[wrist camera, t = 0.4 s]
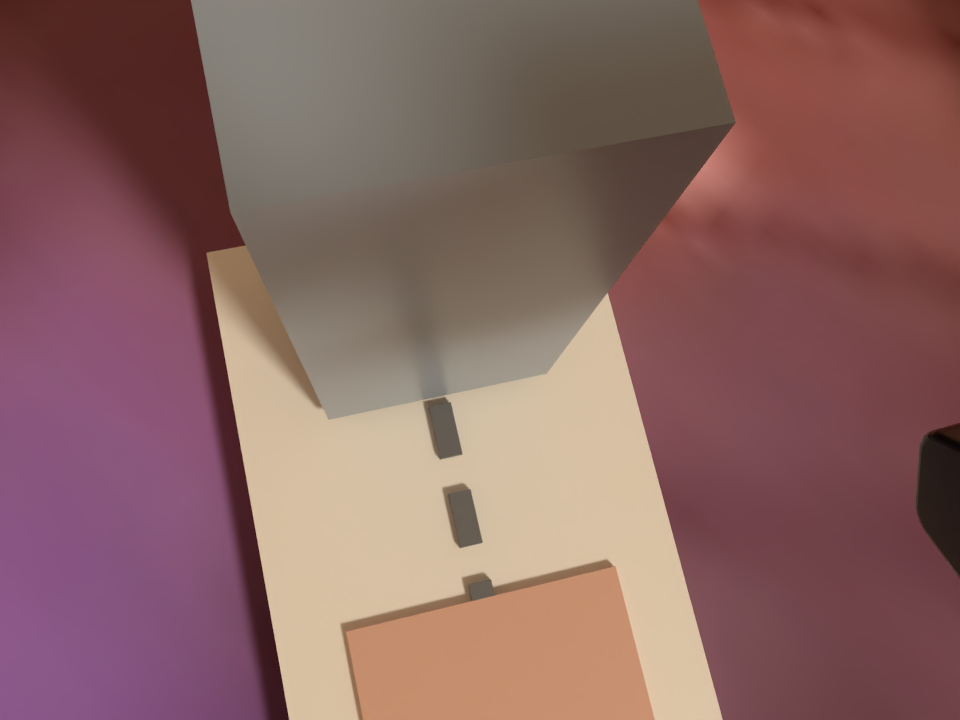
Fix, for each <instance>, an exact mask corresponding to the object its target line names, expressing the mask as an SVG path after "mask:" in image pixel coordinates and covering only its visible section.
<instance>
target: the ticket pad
mask: <svg viewBox="0 0 960 720" xmlns="http://www.w3.org/2000/svg"><path fill="white" fill-rule="evenodd" d="M206 254H207V259H208V265H209V271H210V276H211V282H212V288H213V293H214V299H215V304H216V310H217V316H218V321H219V327H220V333H221V338H222V344H223V350H224V355H225V361H226V366H227V372H228V378H229V383H230V389H231V395H232V400H233V406H234V411H235V417H236V423H237V428H238V434H239V440H240V445H241V451H242V457H243V462H244V468H245V473H246V479H247V485H248V490H249V496H250V502H251V507H252V513H253V518H254V524H255V530H256V535H257V541H258V547H259V552H260V558H261V563H262V569H263V575H264V580H265V586H266V592H267V597H268V603H269V609H270V614H271V620H272V625H273V631H274V637H275V642H276V648H277V654H278V659H279V665H280V670H281V676H282V682H283V687H284V693H285V699H286V704H287V710H288V716H289V720H722V716H721V712H720V708H719V705H718V701H717V697H716V694H715V690H714V686H713V683H712V679H711V675H710V671H709V668H708V664H707V660H706V657H705V653H704V649H703V645H702V642H701V638H700V634H699V631H698V627H697V623H696V619H695V616H694V612H693V608H692V605H691V601H690V597H689V593H688V590H687V586H686V582H685V579H684V575H683V571H682V567H681V564H680V560H679V556H678V553H677V549H676V545H675V541H674V538H673V534H672V530H671V527H670V523H669V519H668V515H667V512H666V508H665V504H664V501H663V497H662V493H661V489H660V486H659V482H658V478H657V475H656V471H655V467H654V463H653V460H652V456H651V452H650V449H649V445H648V441H647V437H646V434H645V430H644V426H643V423H642V419H641V415H640V411H639V408H638V404H637V400H636V397H635V393H634V389H633V386H632V382H631V378H630V374H629V371H628V367H627V363H626V360H625V356H624V352H623V348H622V345H621V341H620V337H619V334H618V330H617V326H616V322H615V319H614V315H613V311H612V308H611V304H610V300H609V296H608V293H607V294H606V296H605V297H604V298H603V300H602V301H601V302H600V304H599V305H598V306H597V308H596V309H595V310H594V312H593V313H592V314H591V315H590V317H589V318H588V319H587V321H586V322H585V323H584V325H583V326H582V327H581V329H580V330H579V331H578V333H577V334H576V335H575V337H574V338H573V339H572V341H571V342H570V343H569V345H568V346H567V347H566V349H565V350H564V351H563V353H562V354H561V355H560V357H559V358H558V359H557V361H556V362H555V363H554V365H553V366H552V367H551V369H550V370H549V371H548V373H547V374H543V375H538V376H534V377H529V378H524V379H519V380H515V381H510V382H505V383H500V384H496V385H491V386H486V387H482V388H477V389H472V390H467V391H463V392H458V393H453V394H449V395H444V396H439V397H434V398H430V399H425V400H420V401H415V402H411V403H406V404H401V405H397V406H392V407H387V408H382V409H378V410H373V411H368V412H364V413H359V414H354V415H349V416H345V417H340V418H335V419H330V420H328V418H327V416H326V414H325V411H324V409H323V407H322V405H321V403H320V401H319V399H318V397H317V395H316V392H315V390H314V388H313V386H312V384H311V382H310V380H309V378H308V376H307V373H306V371H305V369H304V367H303V365H302V363H301V361H300V359H299V357H298V355H297V352H296V350H295V348H294V346H293V344H292V342H291V340H290V338H289V336H288V333H287V331H286V329H285V327H284V325H283V323H282V321H281V319H280V317H279V314H278V312H277V310H276V308H275V306H274V304H273V302H272V300H271V298H270V295H269V293H268V291H267V289H266V287H265V285H264V283H263V281H262V279H261V277H260V274H259V272H258V270H257V268H256V266H255V264H254V262H253V260H252V258H251V255H250V253H249V251H248V249H247V247H246V245H245V246H240V247H235V248H229V249H224V250H218V251H213V252H207V253H206Z"/></svg>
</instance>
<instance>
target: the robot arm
mask: <svg viewBox="0 0 960 720" xmlns="http://www.w3.org/2000/svg"><path fill="white" fill-rule="evenodd" d="M916 510H917V515H918V518H919V521H920V523H921V525H922V527H923V529H924V530H925V532H926V534H927V535H928V536H929V538H930V539H931V540H932V542H933V543H934V544H935V546H936V547H937V548H938V550H939V551H940V552H941V554H942V555H943V556H944V558H945V559H946V561H947V562H948V563H949V565H950V566H951V567H952V569H953V570H954V571H955V573H956V574H957V575H958V577H959V578H960V423H958V424H954V425H951V426H947V427H944V428H940V429H937V430H933V431H931V432H929V433H928V434H926V435H925V436H924V438H923V440H922V441H921V444H920V450H919V464H918V478H917V492H916Z"/></svg>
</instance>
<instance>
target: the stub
mask: <svg viewBox="0 0 960 720" xmlns="http://www.w3.org/2000/svg"><path fill="white" fill-rule="evenodd" d="M191 3H192V9H193V14H194V19H195V25H196V30H197V36H198V41H199V46H200V52H201V57H202V63H203V68H204V73H205V79H206V84H207V90H208V95H209V100H210V106H211V111H212V117H213V122H214V127H215V133H216V138H217V144H218V149H219V155H220V160H221V165H222V171H223V176H224V182H225V187H226V192H227V198H228V203H229V209H230V213H231V215H232V217H233V220H234V222H235V224H236V226H237V228H238V230H239V232H240V234H241V236H242V239H243V241H244V243H245V245H246V247H247V249H248V251H249V253H250V255H251V258H252V260H253V262H254V264H255V266H256V268H257V270H258V272H259V274H260V277H261V279H262V281H263V283H264V285H265V287H266V289H267V291H268V293H269V295H270V298H271V300H272V302H273V304H274V306H275V308H276V310H277V312H278V314H279V317H280V319H281V321H282V323H283V325H284V327H285V329H286V331H287V333H288V336H289V338H290V340H291V342H292V344H293V346H294V348H295V350H296V352H297V355H298V357H299V359H300V361H301V363H302V365H303V367H304V369H305V371H306V373H307V376H308V378H309V380H310V382H311V384H312V386H313V388H314V390H315V392H316V395H317V397H318V399H319V401H320V403H321V405H322V407H323V409H324V411H325V414H326V416H327V418H328V420H330V419H335V418H340V417H345V416H349V415H354V414H359V413H364V412H368V411H373V410H378V409H382V408H387V407H392V406H397V405H401V404H406V403H411V402H415V401H420V400H425V399H430V398H434V397H439V396H444V395H449V394H453V393H458V392H463V391H467V390H472V389H477V388H482V387H486V386H491V385H496V384H500V383H505V382H510V381H515V380H519V379H524V378H529V377H534V376H538V375H543V374H547V373H548V371H549V370H550V369H551V367H552V366H553V365H554V363H555V362H556V361H557V359H558V358H559V357H560V355H561V354H562V353H563V351H564V350H565V349H566V347H567V346H568V345H569V343H570V342H571V341H572V339H573V338H574V337H575V335H576V334H577V333H578V331H579V330H580V329H581V327H582V326H583V325H584V323H585V322H586V321H587V319H588V318H589V317H590V315H591V314H592V313H593V312H594V310H595V309H596V308H597V306H598V305H599V304H600V302H601V301H602V300H603V298H604V297H605V296H606V294H607V293H608V292H609V290H610V289H611V288H612V286H613V285H614V284H615V282H616V281H617V280H618V278H619V277H620V276H621V274H622V273H623V272H624V270H625V269H626V268H627V266H628V265H629V264H630V262H631V261H632V260H633V258H634V257H635V256H636V254H637V253H638V252H639V250H640V249H641V248H642V246H643V245H644V244H645V242H646V241H647V240H648V238H649V237H650V236H651V234H652V233H653V232H654V230H655V229H656V228H657V226H658V225H659V224H660V222H661V221H662V220H663V218H664V217H665V216H666V214H667V213H668V212H669V210H670V209H671V208H672V206H673V205H674V204H675V202H676V201H677V200H678V198H679V197H680V196H681V194H682V193H683V192H684V190H685V189H686V188H687V186H688V185H689V184H690V182H691V181H692V180H693V178H694V177H695V176H696V175H697V173H698V172H699V171H700V169H701V168H702V167H703V165H704V164H705V163H706V161H707V160H708V159H709V157H710V156H711V155H712V153H713V152H714V151H715V149H716V148H717V147H718V145H719V144H720V143H721V141H722V140H723V139H724V137H725V136H726V135H727V133H728V132H729V131H730V129H731V128H732V127H733V125H734V124H735V123H736V122H735V119H734V115H733V112H732V109H731V106H730V103H729V99H728V96H727V93H726V90H725V87H724V83H723V80H722V77H721V74H720V70H719V67H718V64H717V61H716V58H715V54H714V51H713V48H712V45H711V42H710V38H709V35H708V32H707V29H706V26H705V22H704V19H703V16H702V13H701V9H700V6H699V3H698V0H191Z"/></svg>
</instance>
